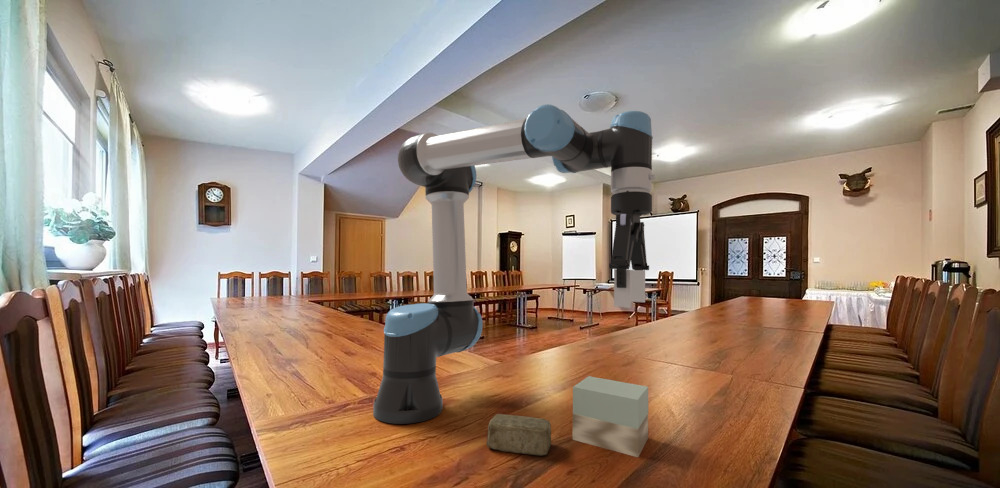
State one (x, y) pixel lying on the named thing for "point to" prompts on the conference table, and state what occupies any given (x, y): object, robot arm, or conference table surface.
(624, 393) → the tower top
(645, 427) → the tower base
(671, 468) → the conference table surface
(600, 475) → the conference table surface
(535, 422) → the stone block
